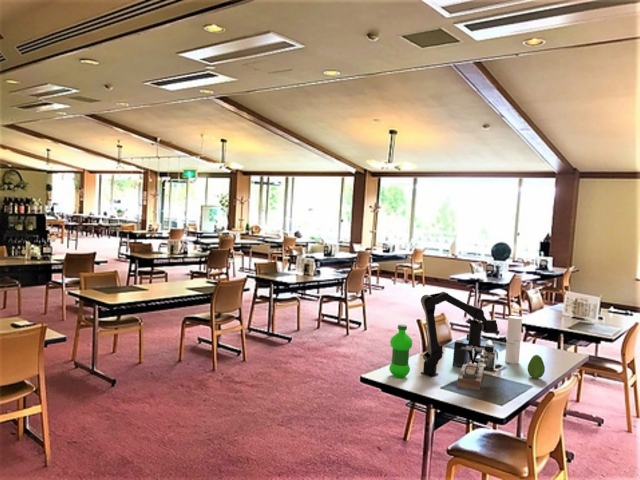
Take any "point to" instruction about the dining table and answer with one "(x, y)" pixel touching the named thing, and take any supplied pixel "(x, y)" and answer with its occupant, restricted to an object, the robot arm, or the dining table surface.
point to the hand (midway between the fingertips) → (472, 363)
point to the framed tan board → (470, 377)
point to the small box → (460, 357)
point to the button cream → (472, 364)
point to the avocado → (536, 367)
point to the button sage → (470, 372)
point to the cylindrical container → (513, 339)
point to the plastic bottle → (400, 353)
